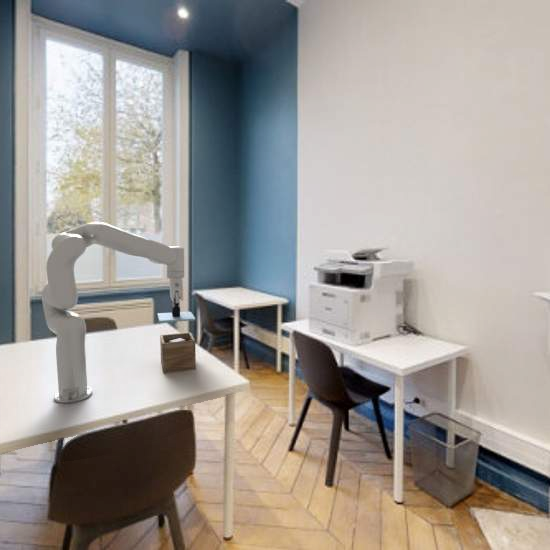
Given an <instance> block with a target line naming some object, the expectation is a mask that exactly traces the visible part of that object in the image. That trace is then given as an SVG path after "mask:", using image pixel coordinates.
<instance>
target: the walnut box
mask: <svg viewBox="0 0 550 550" xmlns="http://www.w3.org/2000/svg"><path fill="white" fill-rule="evenodd" d="M159 337H160V338H159V341H160V364H161V369H162V374H166V373H173V372H175V373H177V372H183V371H191V370H192V371H193V370H197V368H196V366H197V365H196V364H197V363H196V357H197V356H196V339H195V338H194V335H193V333H192V332H181V333H170V334H160V335H159ZM178 338H181V339H185V341H180V342H169V341H171V340H174V339H178Z"/></svg>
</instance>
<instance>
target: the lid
mask: <svg viewBox="0 0 550 550" xmlns="http://www.w3.org/2000/svg"><path fill="white" fill-rule="evenodd" d="M157 318H158V322H159V323H172V322H173V323H175V322H191V321H196V317H195V316H194V314H193V313H192V312H191V311H180V316H173V303H172V302H171V312H161V313H160V312H158V313H157Z"/></svg>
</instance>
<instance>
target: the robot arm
mask: <svg viewBox="0 0 550 550" xmlns="http://www.w3.org/2000/svg"><path fill="white" fill-rule="evenodd" d="M93 245H98V246H102V247H105V248H108V249H111V250H114V251H115V252H116V251H117V252H119V253H122V254H125V255H130V256H132V257H133V256H134V257H138V258H139V257H141V258H143V259H144V258H145V259H148V261H150V262H151V263H152V264H159V265H165V266H166V278H167V279H169V295H170V299H171V304H172V303H173V316H180V312H181V306H180V305H181V304H180V303H181V302H180V301H184V284H183V279H184V278H185V248H184V247H183V246H179V245H178V246H177V245H176V246H175V245H173V246H168V245H166V244H164V243H160V242H158V241H155V240H152V239H149V238H146V237H144V236H141V235H138V234H135V233H132V232H129V231H127V230H124V229H121V228H119V227H116V226H113V225H112V224H108V223H106V222H101V221H92V222H91V221H90V222H87V223H85V224H82V225H79V226H76V227H74V228H72V229H68V230H66V231H64V232H61V233H58V234H56V236H54V238H53V239H52V241H51V248H52V250H51V252H50V253H49V256H47V257H48V258H47V260H46V266H45V271H46V278H47V279H46V280H47V284H46V285H45V286H43V288H42V291H41V302H42V303H41V304H42V308H43V313H44V318H45V323H46V326H47V328H48V329H49V331H51V332H52V333H54V334H55V335H56V343H55V355H56V356H55V357H56V371H57V386H58V387H57V388H58V391H57V392H56V393H55V394H54V396H53V399H54V401H55V402H57V403H61V404H69V403H70V404H71V403H76V402H80V401H83V400H86V399H87V398H89V397H90V396H92V394H93V389H92V388H91V387H90V386H88V377H87V376H88V375H87V357H86V356H87V355H86V333H87V324H86V321H85V319H84V318H83V317H82V316H81V315H80V314H79V313H76V312H74V311H73V308H74V307H75V306H76V305H77V304H78V301H79V294H78V289H77V283H76V278H75V270H74V269H75V265H76V262H77V260H78V259H79V258H80V257H82V255H83V254H85V252H86V250H87V248H88V247H90V246H93Z"/></svg>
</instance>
